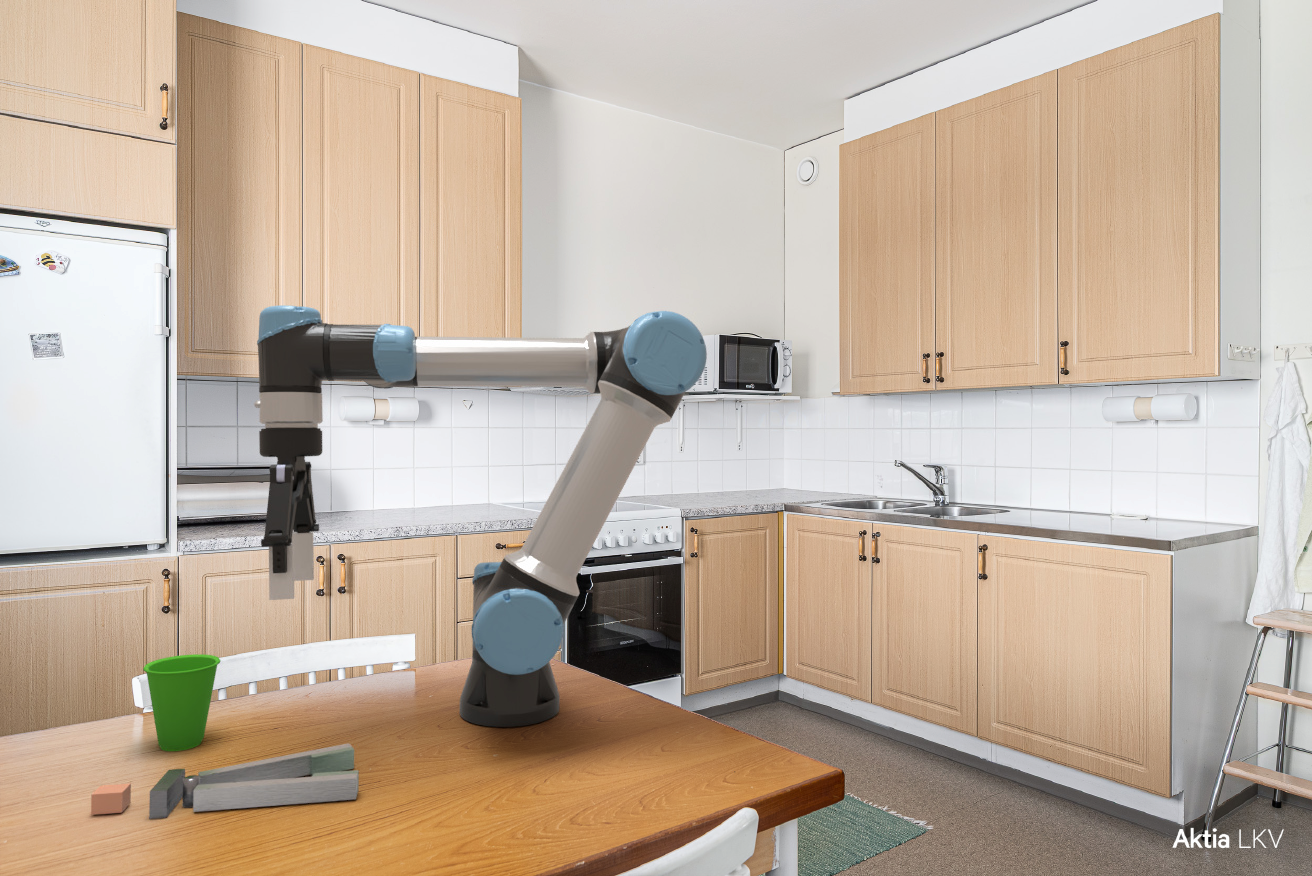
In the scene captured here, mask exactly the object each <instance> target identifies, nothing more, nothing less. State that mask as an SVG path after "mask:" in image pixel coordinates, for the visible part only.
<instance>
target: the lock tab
mask: <svg viewBox="0 0 1312 876" xmlns="http://www.w3.org/2000/svg"><path fill="white" fill-rule="evenodd" d="M131 785H132V783H118V784H105V785H100V786H99V787H98V788H97V789H95V790H94V791H93V792H92V794H91V798H90V799H91V800H90V801H91V803H90V805H91V806H90V809H91V811H90V815H91V816H93V815H105V814H119V813H123V812H124V811H125V810H126V809H127V807H128V806H129V805H130V804H131V797H132V795H131V794H132V790H131V789H132V786H131Z"/></svg>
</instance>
